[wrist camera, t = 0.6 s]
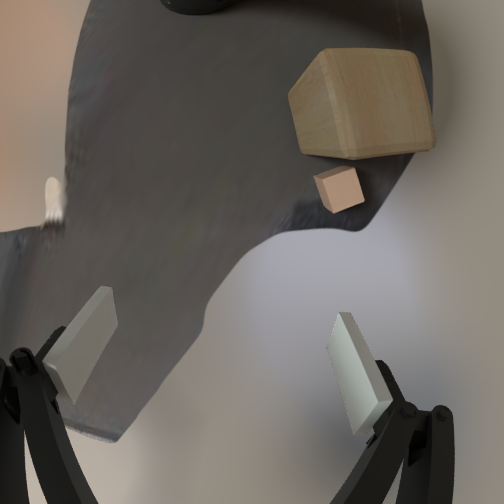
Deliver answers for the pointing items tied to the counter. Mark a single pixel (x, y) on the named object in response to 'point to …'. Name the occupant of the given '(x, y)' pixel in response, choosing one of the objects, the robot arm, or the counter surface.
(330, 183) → the cube tan
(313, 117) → the wooden block
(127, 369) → the counter surface
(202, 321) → the counter surface
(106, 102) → the counter surface
